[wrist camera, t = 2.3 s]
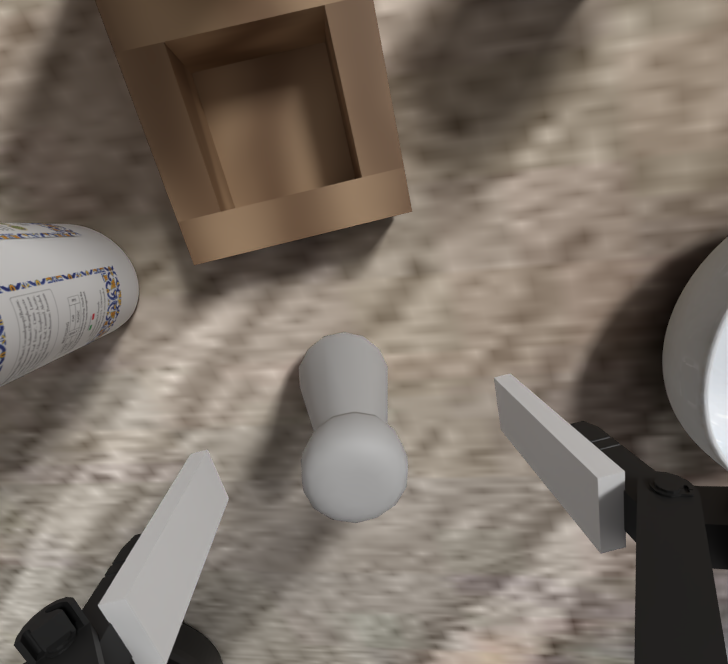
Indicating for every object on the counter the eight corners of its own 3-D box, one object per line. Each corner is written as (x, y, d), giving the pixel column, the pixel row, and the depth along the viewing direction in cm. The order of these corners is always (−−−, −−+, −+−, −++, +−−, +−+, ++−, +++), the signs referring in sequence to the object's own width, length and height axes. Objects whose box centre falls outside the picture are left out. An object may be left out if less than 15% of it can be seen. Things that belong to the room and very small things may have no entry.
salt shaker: (311, 406, 27) (298, 565, 14) (291, 334, 25) (256, 442, 12) (389, 389, 27) (442, 530, 14) (374, 315, 25) (420, 404, 13)
